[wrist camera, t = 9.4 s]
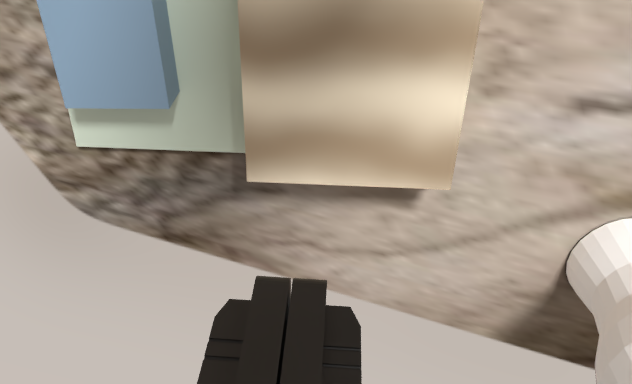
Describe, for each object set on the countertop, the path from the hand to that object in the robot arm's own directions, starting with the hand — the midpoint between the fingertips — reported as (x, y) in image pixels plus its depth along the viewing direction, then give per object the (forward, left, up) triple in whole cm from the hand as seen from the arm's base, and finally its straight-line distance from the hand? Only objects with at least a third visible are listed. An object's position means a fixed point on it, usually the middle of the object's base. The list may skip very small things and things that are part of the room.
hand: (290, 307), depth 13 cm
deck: (+1, +2, -24) cm, 24 cm away
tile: (+1, -12, -22) cm, 25 cm away
